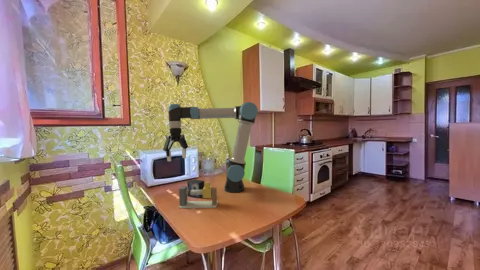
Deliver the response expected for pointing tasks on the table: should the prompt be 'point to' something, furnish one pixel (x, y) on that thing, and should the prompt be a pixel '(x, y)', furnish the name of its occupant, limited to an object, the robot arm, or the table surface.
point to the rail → (196, 204)
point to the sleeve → (207, 190)
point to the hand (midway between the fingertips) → (177, 159)
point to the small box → (195, 186)
